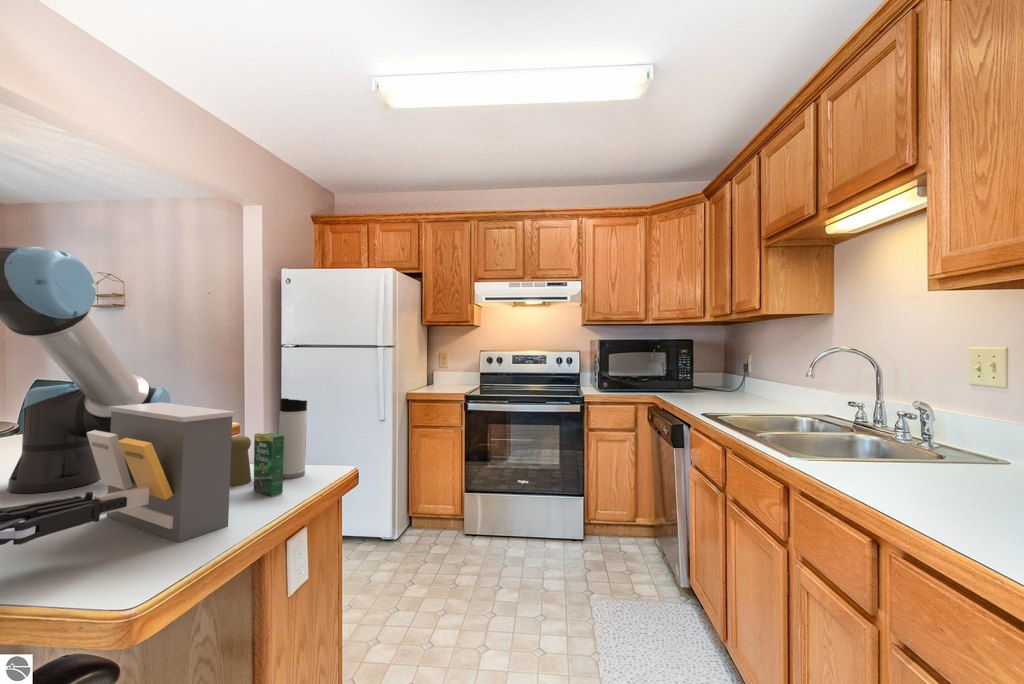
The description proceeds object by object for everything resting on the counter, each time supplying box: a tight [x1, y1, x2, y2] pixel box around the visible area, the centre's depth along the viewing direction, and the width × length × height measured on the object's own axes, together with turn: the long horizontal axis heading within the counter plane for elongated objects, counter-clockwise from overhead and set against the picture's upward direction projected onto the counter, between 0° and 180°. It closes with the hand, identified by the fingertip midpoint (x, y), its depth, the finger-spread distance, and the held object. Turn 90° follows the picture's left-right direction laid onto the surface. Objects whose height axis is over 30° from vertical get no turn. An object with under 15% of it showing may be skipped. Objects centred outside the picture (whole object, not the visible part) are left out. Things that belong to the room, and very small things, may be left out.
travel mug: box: [278, 397, 308, 480], centre depth 112 cm, size 6×7×20 cm
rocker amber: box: [118, 438, 173, 500], centre depth 73 cm, size 2×8×10 cm, turn 64°
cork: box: [230, 435, 252, 487], centre depth 105 cm, size 6×6×11 cm
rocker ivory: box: [87, 430, 132, 490], centre depth 78 cm, size 2×8×10 cm, turn 64°
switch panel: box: [106, 402, 236, 543], centre depth 81 cm, size 9×25×21 cm, turn 64°
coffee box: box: [253, 431, 284, 497], centre depth 99 cm, size 8×3×13 cm, turn 57°
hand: (146, 495), depth 73 cm, fingers closed
